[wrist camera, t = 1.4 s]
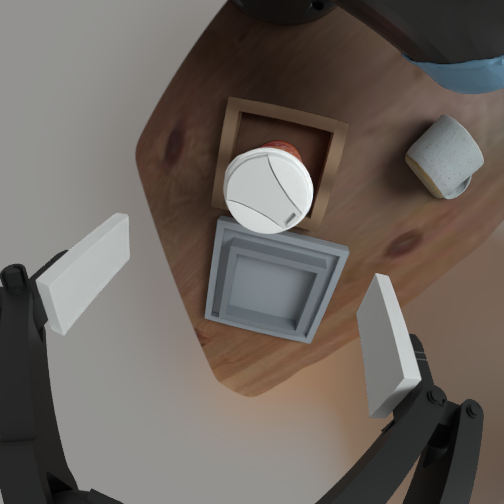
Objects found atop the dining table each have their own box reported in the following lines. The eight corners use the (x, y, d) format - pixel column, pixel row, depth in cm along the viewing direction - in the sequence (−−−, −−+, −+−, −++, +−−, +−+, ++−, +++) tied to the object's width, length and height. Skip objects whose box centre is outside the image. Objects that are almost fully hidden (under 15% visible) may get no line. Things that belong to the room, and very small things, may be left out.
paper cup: (322, 162, 35) (333, 198, 23) (279, 202, 39) (267, 255, 27) (276, 118, 34) (261, 128, 21) (234, 161, 37) (200, 196, 25)
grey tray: (220, 215, 41) (214, 224, 38) (348, 246, 40) (350, 257, 38) (207, 312, 50) (202, 324, 47) (310, 336, 49) (310, 350, 47)
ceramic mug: (393, 151, 33) (414, 166, 26) (433, 110, 29) (462, 117, 23) (438, 207, 35) (462, 232, 29) (475, 170, 31) (505, 188, 25)
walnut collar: (233, 96, 33) (228, 96, 31) (346, 122, 32) (349, 124, 30) (215, 200, 40) (210, 206, 38) (317, 224, 39) (318, 232, 37)
